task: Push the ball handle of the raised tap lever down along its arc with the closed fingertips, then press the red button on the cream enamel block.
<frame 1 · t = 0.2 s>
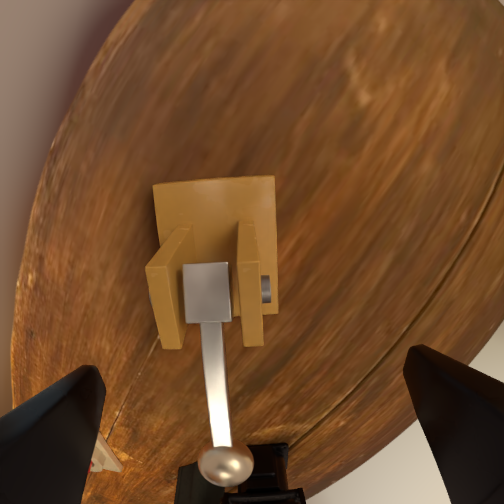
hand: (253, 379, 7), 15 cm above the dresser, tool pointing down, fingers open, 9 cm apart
tap lever: (217, 388, 14), point 9 cm above the dresser, hinge at 25.0°
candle: (201, 470, 32), on the dresser
button: (79, 461, 27), point 3 cm above the dresser, slide at 0.1 cm
button block: (86, 443, 30), on the dresser
tap bracket: (219, 248, 22), on the dresser
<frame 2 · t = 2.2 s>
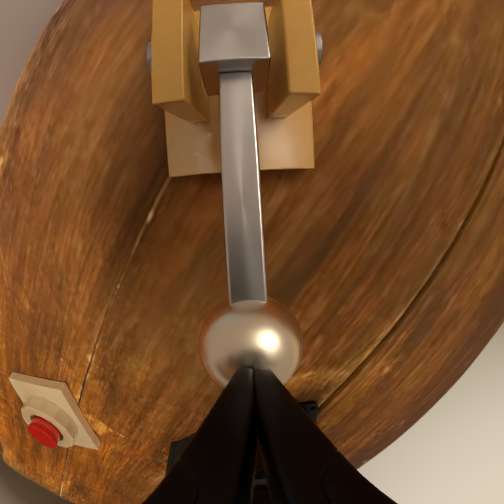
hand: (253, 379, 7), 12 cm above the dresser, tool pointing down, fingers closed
tap lever: (241, 183, 9), point 9 cm above the dresser, hinge at 17.9°, touching gripper
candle: (200, 447, 26), on the dresser
button: (44, 431, 21), point 3 cm above the dresser, slide at 0.1 cm
button block: (56, 410, 24), on the dresser
tap bracket: (236, 86, 15), on the dresser
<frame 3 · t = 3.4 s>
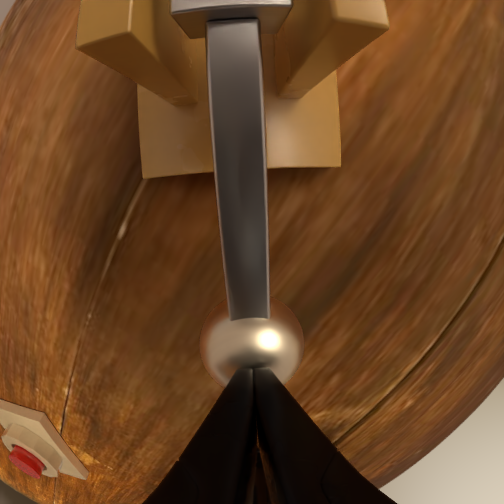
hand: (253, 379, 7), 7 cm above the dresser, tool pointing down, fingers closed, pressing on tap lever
tap lever: (241, 185, 7), point 6 cm above the dresser, hinge at -9.1°, touching gripper
button: (26, 461, 16), point 3 cm above the dresser, slide at 0.1 cm
button block: (39, 437, 19), on the dresser
tap bracket: (235, 58, 11), on the dresser
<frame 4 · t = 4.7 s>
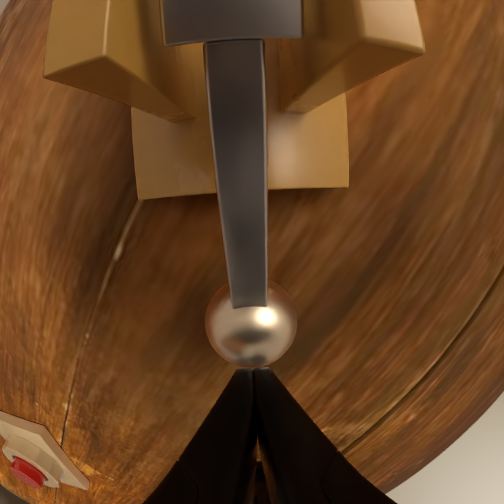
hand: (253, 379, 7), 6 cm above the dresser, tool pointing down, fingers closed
tap lever: (243, 199, 7), point 5 cm above the dresser, hinge at -22.8°
button: (27, 472, 15), point 3 cm above the dresser, slide at 0.1 cm
button block: (39, 448, 19), on the dresser
tap bracket: (236, 67, 10), on the dresser
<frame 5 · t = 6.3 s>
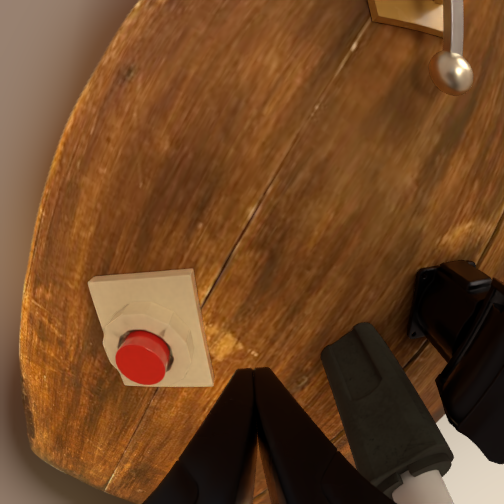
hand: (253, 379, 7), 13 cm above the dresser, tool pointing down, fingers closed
tap lever: (453, 7, 10), point 5 cm above the dresser, hinge at -22.8°
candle: (354, 351, 23), on the dresser
button: (143, 358, 19), point 3 cm above the dresser, slide at 0.1 cm
button block: (154, 331, 22), on the dresser
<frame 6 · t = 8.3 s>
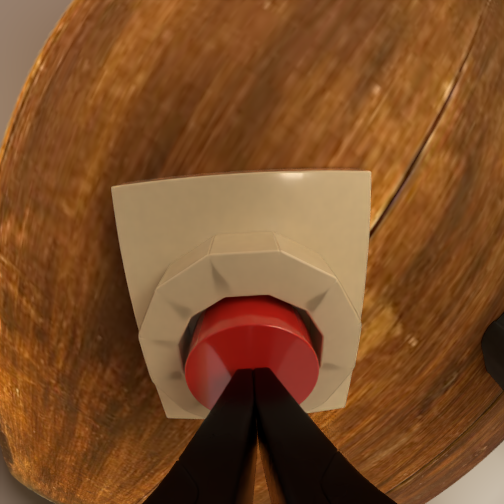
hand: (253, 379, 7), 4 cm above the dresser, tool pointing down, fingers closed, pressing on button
button: (251, 359, 8), point 3 cm above the dresser, slide at -0.3 cm, touching gripper
button block: (248, 308, 11), on the dresser
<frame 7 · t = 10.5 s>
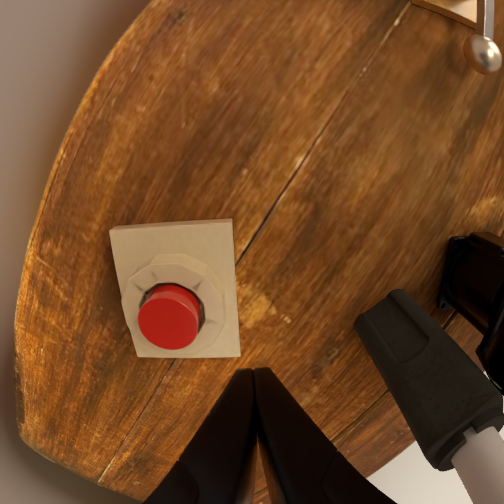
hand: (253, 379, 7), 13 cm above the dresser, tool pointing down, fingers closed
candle: (386, 321, 22), on the dresser
button: (169, 317, 17), point 3 cm above the dresser, slide at 0.1 cm
button block: (179, 291, 21), on the dresser
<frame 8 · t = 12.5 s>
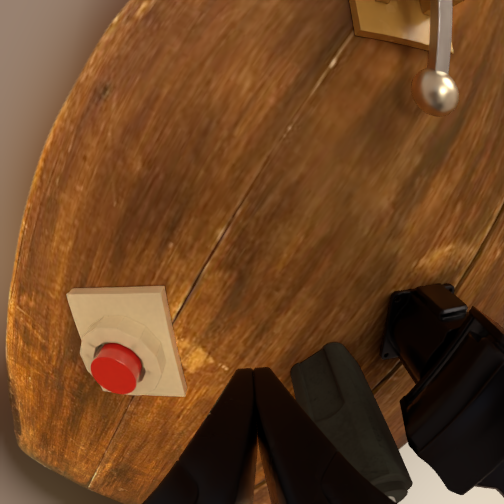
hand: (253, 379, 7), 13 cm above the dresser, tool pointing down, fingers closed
tap lever: (441, 21, 10), point 5 cm above the dresser, hinge at -22.8°
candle: (325, 369, 24), on the dresser
button: (116, 369, 19), point 3 cm above the dresser, slide at 0.1 cm
button block: (130, 342, 22), on the dresser
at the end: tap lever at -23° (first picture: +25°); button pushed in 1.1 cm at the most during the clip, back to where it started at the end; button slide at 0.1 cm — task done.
